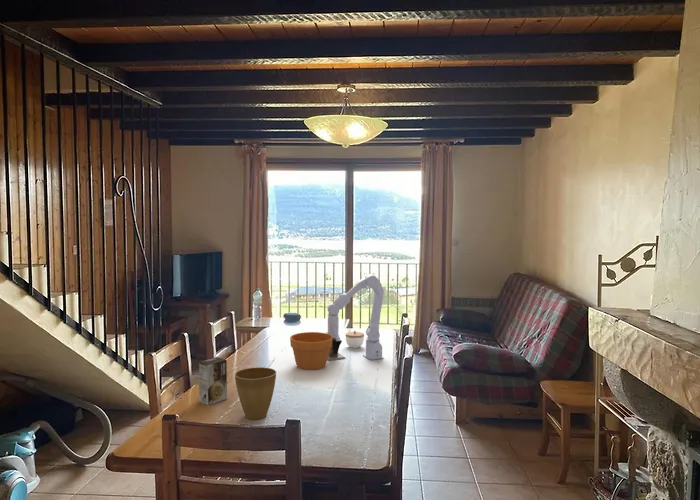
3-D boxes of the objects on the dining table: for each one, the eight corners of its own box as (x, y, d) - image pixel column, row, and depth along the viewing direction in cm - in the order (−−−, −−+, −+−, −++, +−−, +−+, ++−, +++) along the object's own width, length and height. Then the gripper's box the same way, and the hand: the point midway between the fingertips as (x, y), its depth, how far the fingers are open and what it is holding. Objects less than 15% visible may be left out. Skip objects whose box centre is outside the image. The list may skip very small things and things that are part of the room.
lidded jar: (364, 349, 277) (364, 333, 276) (345, 349, 277) (345, 332, 277) (363, 344, 288) (364, 329, 287) (345, 344, 288) (345, 328, 287)
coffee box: (217, 395, 199) (217, 356, 199) (227, 399, 195) (227, 359, 195) (198, 401, 192) (198, 361, 192) (207, 405, 188) (207, 364, 187)
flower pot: (326, 373, 231) (326, 342, 230) (284, 370, 235) (284, 340, 234) (336, 361, 251) (336, 333, 251) (297, 359, 256) (297, 331, 255)
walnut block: (337, 356, 258) (337, 347, 258) (330, 357, 257) (330, 347, 257) (335, 354, 262) (335, 345, 262) (328, 355, 261) (328, 345, 260)
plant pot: (278, 408, 186) (278, 366, 185) (273, 423, 171) (273, 378, 171) (239, 408, 186) (239, 366, 185) (230, 424, 171) (230, 378, 170)
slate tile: (345, 358, 257) (345, 357, 257) (327, 360, 253) (327, 359, 253) (338, 354, 266) (338, 352, 266) (320, 355, 262) (320, 354, 262)
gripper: (321, 324, 264) (321, 349, 264) (331, 329, 251) (330, 355, 251) (333, 323, 267) (333, 348, 267) (343, 328, 253) (343, 354, 254)
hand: (332, 351), depth 259 cm, fingers open, 7 cm apart
